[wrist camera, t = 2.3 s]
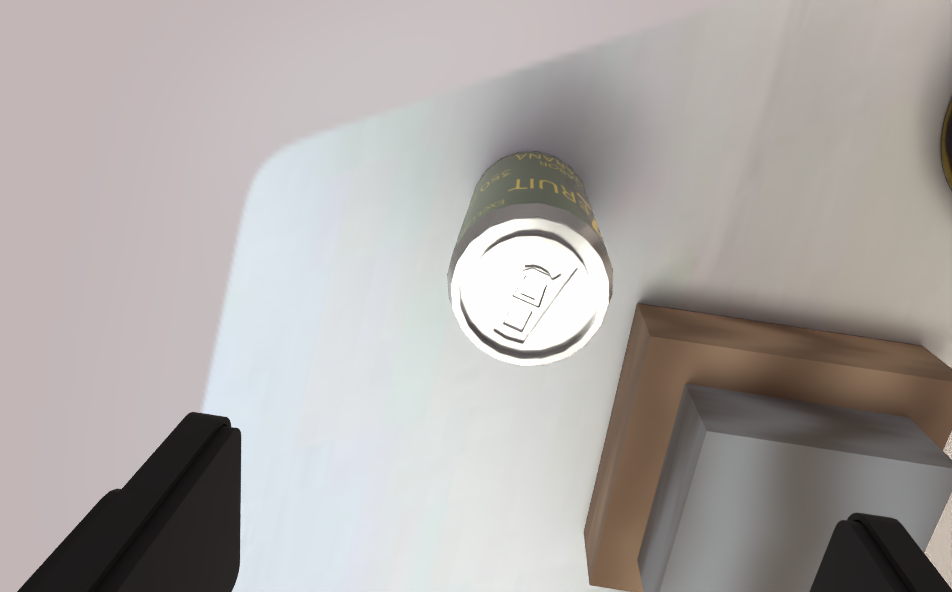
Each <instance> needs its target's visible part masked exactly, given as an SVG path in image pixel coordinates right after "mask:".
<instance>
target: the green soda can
mask: <svg viewBox="0 0 952 592" xmlns="http://www.w3.org/2000/svg"><path fill="white" fill-rule="evenodd" d="M447 277H448V290H449V299H450V302H451V304H452V306H453V310H454V312H455V315H456V317H457V320H458V322H459V324H460V327H461V329H462V330H463V332H464V333H465V334H466V335H467V336H468V337H469V339H470V340H471V341H472V342H473V343H474V344H475V345H476V347H478V348H479V349H481V350H482V351H484V352H486V353H487V354H489V355H491V356H492V357H494V358H495V359H497V360H501V361H505V362H508V363H512V364H516V365H519V366H526V365H546V364H549V363H552V362H555V361H559V360H562V359H565V358H567V357H569V356H570V355H572V354H573V353H575V352H576V351H578V350H579V349H581V348H582V347H584V346H585V345H586V344H587V343H588V342H589V340H590V339H591V338H592V337H593V335H594V334H595V333H596V332H597V330H598V329H599V328H600V327H601V324H602V321H603V318H604V316H605V313H606V310H607V307H608V305H609V302H610V299H611V296H612V282H613V269H612V266H611V263H610V260H609V257H608V254H607V251H606V248H605V245H604V242H603V240H602V237H601V234H600V231H599V229H598V226H597V223H596V220H595V218H594V215H593V212H592V209H591V207H590V204H589V201H588V198H587V196H586V193H585V190H584V188H583V185H582V182H581V181H580V179H579V178H578V177H577V175H576V174H575V173H574V171H573V170H572V169H571V167H569V166H568V165H566V164H565V163H563V162H562V161H560V160H559V159H558V158H556V157H554V156H551V155H547V154H543V153H540V152H518V153H515V154H513V155H510V156H507V157H505V158H502V159H500V160H499V161H497V162H496V163H495V164H494V165H492V166H491V167H490V168H489V169H487V170H486V171H485V173H484V175H483V176H482V178H481V179H480V181H479V182H478V184H477V185H476V187H475V190H474V193H473V196H472V199H471V202H470V205H469V208H468V210H467V213H466V216H465V219H464V222H463V225H462V228H461V231H460V233H459V236H458V239H457V242H456V245H455V248H454V251H453V255H452V258H451V262H450V266H449V270H448V274H447Z"/></svg>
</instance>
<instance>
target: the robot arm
mask: <svg viewBox="0 0 952 592" xmlns="http://www.w3.org/2000/svg"><path fill="white" fill-rule="evenodd" d="M240 503H241V432H240V430H239V429H238V428H232V427H231V423H230V420H229V418H227V417H223V416H216V415H210V414H203V413H196V412H191V413H189V414H188V415H187V416H186V417H185V418H184V419H183V420H182V421H181V422H180V423H179V424H178V426H177V427H176V428H175V429H174V430H173V431H172V432H171V434H170V435H169V436H168V437H167V438H166V439H165V441H164V442H163V443H162V444H161V445H160V446H159V447H158V448H157V449H156V451H155V452H154V453H153V454H152V455H151V456H150V457H149V459H148V460H147V461H146V462H145V463H144V464H143V465H142V467H141V468H140V469H139V470H138V471H137V472H136V473H135V474H134V476H133V477H132V478H131V479H130V480H129V481H128V483H127V484H126V485H125V486H124V487H123V488H122V489H115V490H112V491H110V492H108V493H107V494H106V495H105V496H104V497H103V498H102V499H101V500H100V501H99V502H98V503H97V504H96V505H95V506H94V507H93V509H92V510H91V511H90V512H89V513H88V514H87V515H86V516H85V517H84V519H83V520H82V521H81V522H80V523H79V524H78V525H77V526H76V527H75V529H74V530H73V531H72V532H71V533H70V534H69V535H68V536H67V537H66V538H65V539H64V541H63V542H62V543H61V544H60V545H59V546H58V547H57V548H56V549H55V550H54V552H53V553H52V554H51V555H50V556H49V557H48V558H47V559H46V561H45V562H44V563H43V564H42V565H41V566H40V567H39V568H38V569H37V570H36V572H35V573H34V574H33V575H32V576H31V577H30V578H29V579H28V580H27V582H26V583H25V584H24V585H23V586H22V587H21V588H20V589H19V590H18V591H17V592H231V591H232V590H233V587H234V585H235V582H236V580H237V576H238V572H239V566H240ZM810 592H952V589H951V588H950V587H949V585H948V584H947V583H946V581H945V580H944V579H943V577H942V576H941V575H940V573H939V572H938V571H937V570H936V568H935V567H934V566H933V564H932V563H931V562H930V560H929V559H928V558H927V556H926V555H925V554H924V553H923V551H922V550H921V549H920V547H919V546H918V545H917V543H916V542H915V541H914V539H913V538H912V537H911V535H910V534H909V533H908V532H907V530H906V529H905V528H904V526H903V525H902V524H901V523H900V522H899V521H898V520H897V519H894V518H891V517H884V516H878V515H871V514H865V513H858V512H857V513H853V514H851V515H850V516H849V517H848V519H847V520H841V521H839V522H838V523H837V525H836V527H835V529H834V531H833V534H832V536H831V539H830V541H829V544H828V546H827V549H826V551H825V554H824V556H823V559H822V561H821V564H820V566H819V569H818V571H817V574H816V576H815V579H814V581H813V584H812V586H811V589H810Z"/></svg>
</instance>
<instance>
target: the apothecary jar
mask: <svg viewBox="0 0 952 592" xmlns="http://www.w3.org/2000/svg"><path fill="white" fill-rule="evenodd" d="M941 155H942V164H943V169H944V173H945V176H946V179H947V182H948V184H949V186H950V188H951V190H952V99H951V102H950V105H949V108H948V110H947V114H946V117H945V121H944V126H943V132H942V140H941Z"/></svg>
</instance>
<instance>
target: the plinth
mask: <svg viewBox="0 0 952 592" xmlns="http://www.w3.org/2000/svg"><path fill="white" fill-rule="evenodd" d="M951 431H952V369H951V368H950V367H949V366H947V365H946V364H945V363H944V362H942V361H941V360H940V359H939V358H937V357H936V356H935V355H933V354H932V353H931V352H930V351H928V350H927V349H926V348H925V347H923V346H919V345H912V344H906V343H899V342H892V341H886V340H879V339H872V338H866V337H859V336H852V335H845V334H839V333H832V332H825V331H819V330H812V329H805V328H799V327H792V326H785V325H779V324H772V323H765V322H759V321H752V320H745V319H738V318H732V317H725V316H718V315H712V314H705V313H698V312H692V311H685V310H678V309H672V308H665V307H658V306H651V305H645V304H638V303H637V306H636V311H635V315H634V319H633V323H632V328H631V332H630V336H629V341H628V345H627V349H626V353H625V358H624V362H623V366H622V371H621V375H620V379H619V384H618V388H617V392H616V396H615V401H614V405H613V409H612V414H611V418H610V422H609V427H608V431H607V435H606V439H605V444H604V448H603V452H602V457H601V461H600V465H599V469H598V474H597V478H596V482H595V487H594V491H593V495H592V500H591V504H590V508H589V512H588V517H587V521H586V525H585V530H584V539H585V548H586V557H587V566H588V575H589V584H590V585H592V586H599V587H605V588H611V589H618V590H624V591H630V592H810V589H811V586H812V584H813V581H814V579H815V576H816V574H817V571H818V569H819V566H820V564H821V561H822V559H823V556H824V554H825V551H826V549H827V546H828V544H829V541H830V539H831V536H832V534H833V531H834V529H835V527H836V525H837V523H838V522H839V521H841V520H847V519H848V517H849V516H850V515H851V514H853V513H857V512H858V513H865V514H871V515H878V516H884V517H891V518H894V519H897V520H898V521H899V522H900V523H901V524H902V525H903V526H904V528H905V529H906V530H907V532H908V533H909V534H910V535H911V537H912V538H913V539H914V541H915V542H916V543H917V545H918V546H919V547H920V549H921V550H922V551H923V553H924V552H925V549H926V547H927V545H928V543H929V541H930V538H931V536H932V534H933V532H934V530H935V527H936V525H937V523H938V521H939V519H940V516H941V514H942V512H943V510H944V508H945V506H946V503H947V501H948V499H949V497H950V495H951V492H952V460H951V459H950V458H949V457H948V456H947V455H946V454H945V453H944V452H943V449H944V447H945V444H946V442H947V440H948V437H949V435H950V433H951Z"/></svg>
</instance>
